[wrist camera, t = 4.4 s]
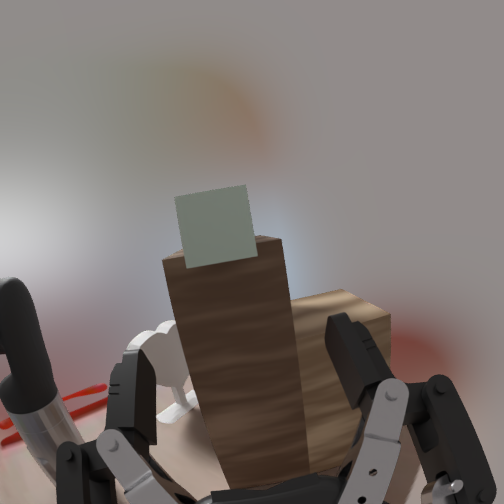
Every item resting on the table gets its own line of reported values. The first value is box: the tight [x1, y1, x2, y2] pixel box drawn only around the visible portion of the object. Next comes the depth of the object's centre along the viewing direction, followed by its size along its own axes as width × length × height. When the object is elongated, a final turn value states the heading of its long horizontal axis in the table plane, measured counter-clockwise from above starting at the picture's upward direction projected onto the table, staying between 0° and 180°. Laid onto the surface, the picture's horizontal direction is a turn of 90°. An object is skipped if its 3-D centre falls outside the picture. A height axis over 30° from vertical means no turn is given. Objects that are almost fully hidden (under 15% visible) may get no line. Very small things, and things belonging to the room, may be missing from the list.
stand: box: [162, 235, 391, 489], centre depth 35 cm, size 14×22×32 cm, turn 96°
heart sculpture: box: [127, 320, 198, 423], centre depth 51 cm, size 16×5×18 cm, turn 150°
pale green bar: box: [175, 185, 258, 268], centre depth 29 cm, size 26×4×4 cm, turn 6°
